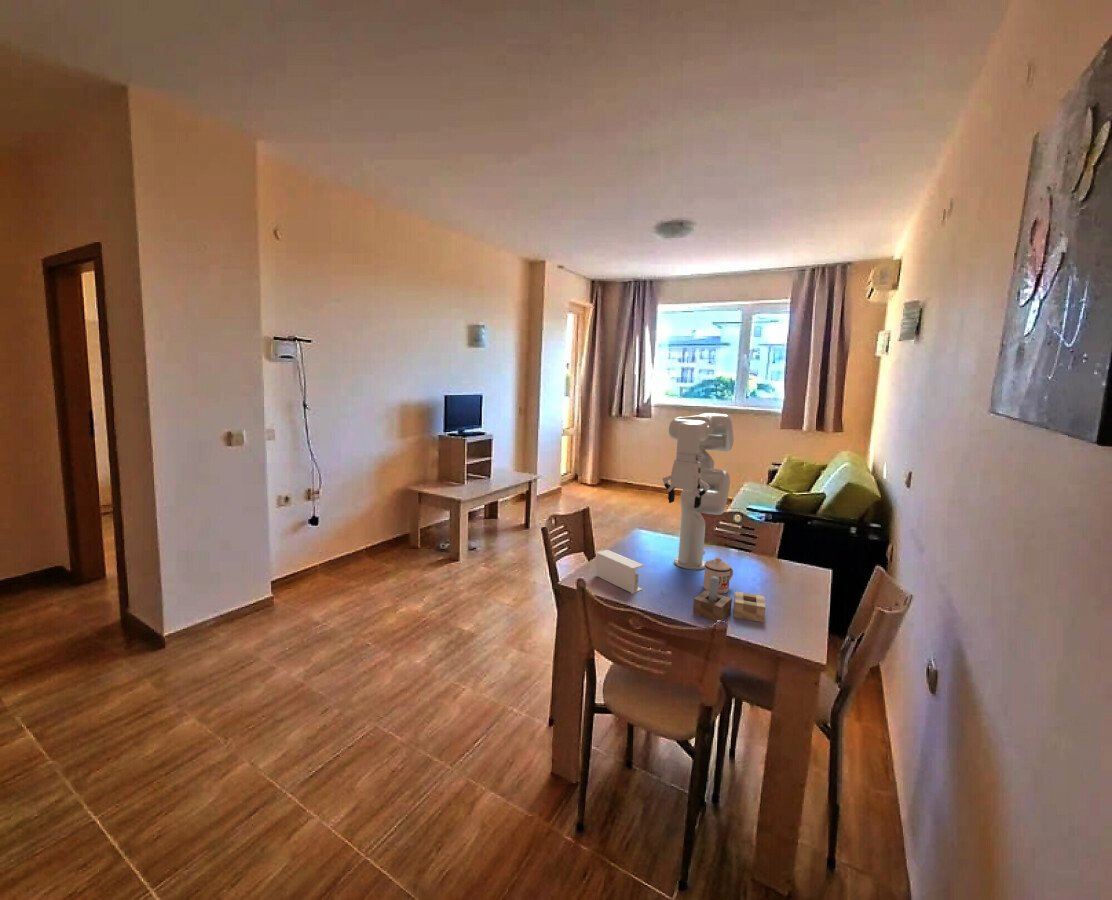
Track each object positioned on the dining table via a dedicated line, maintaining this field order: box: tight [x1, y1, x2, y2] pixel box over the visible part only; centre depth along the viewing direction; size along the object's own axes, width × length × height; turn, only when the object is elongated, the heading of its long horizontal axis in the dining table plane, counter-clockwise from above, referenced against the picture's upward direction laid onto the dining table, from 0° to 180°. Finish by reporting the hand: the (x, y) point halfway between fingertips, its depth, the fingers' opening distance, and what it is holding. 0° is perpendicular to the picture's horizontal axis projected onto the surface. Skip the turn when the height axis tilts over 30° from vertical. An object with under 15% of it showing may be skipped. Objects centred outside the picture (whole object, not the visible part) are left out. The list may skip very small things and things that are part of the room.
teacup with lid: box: [703, 556, 734, 595], centre depth 184 cm, size 12×9×12 cm
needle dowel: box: [709, 576, 719, 602], centre depth 164 cm, size 3×3×12 cm
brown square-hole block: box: [692, 589, 733, 622], centre depth 165 cm, size 9×9×5 cm
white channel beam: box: [595, 549, 645, 595], centre depth 187 cm, size 20×6×9 cm, turn 38°
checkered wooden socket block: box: [733, 590, 766, 623], centre depth 166 cm, size 9×9×5 cm
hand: (683, 504), depth 183 cm, fingers open, 9 cm apart
